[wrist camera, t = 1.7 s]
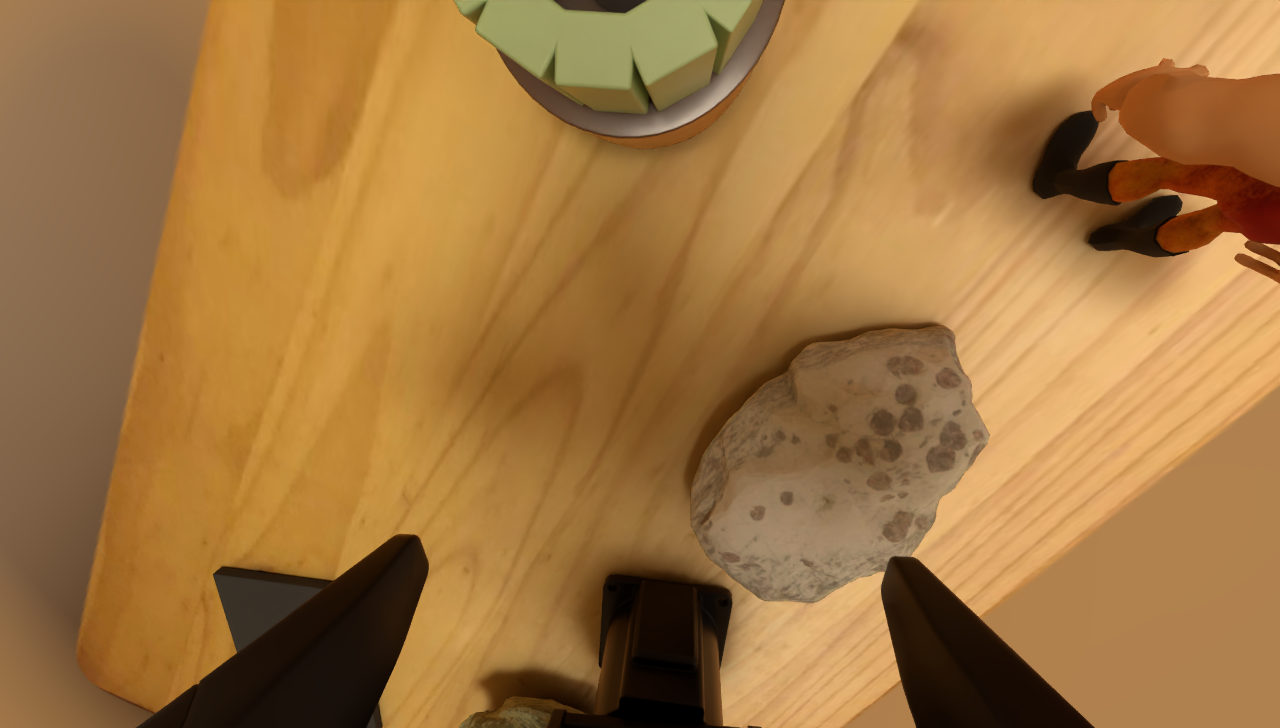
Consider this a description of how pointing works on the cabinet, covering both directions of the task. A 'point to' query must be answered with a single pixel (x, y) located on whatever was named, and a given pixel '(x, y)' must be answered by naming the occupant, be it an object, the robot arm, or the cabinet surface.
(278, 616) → the pad
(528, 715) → the seashell
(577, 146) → the cabinet surface
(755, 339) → the cabinet surface
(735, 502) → the decorative stone
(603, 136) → the stand
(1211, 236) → the action figure
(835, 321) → the cabinet surface
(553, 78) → the ring
